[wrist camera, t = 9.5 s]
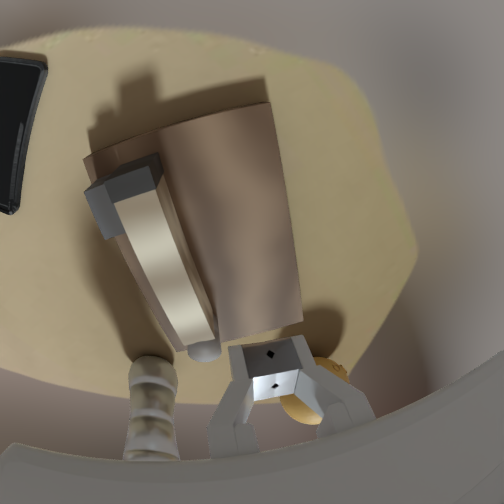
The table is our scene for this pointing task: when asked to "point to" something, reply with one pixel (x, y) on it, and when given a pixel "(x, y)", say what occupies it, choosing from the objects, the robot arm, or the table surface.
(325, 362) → the stress ball
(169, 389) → the plastic bottle
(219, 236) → the seat board
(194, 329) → the stool leg
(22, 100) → the phone
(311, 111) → the table surface
